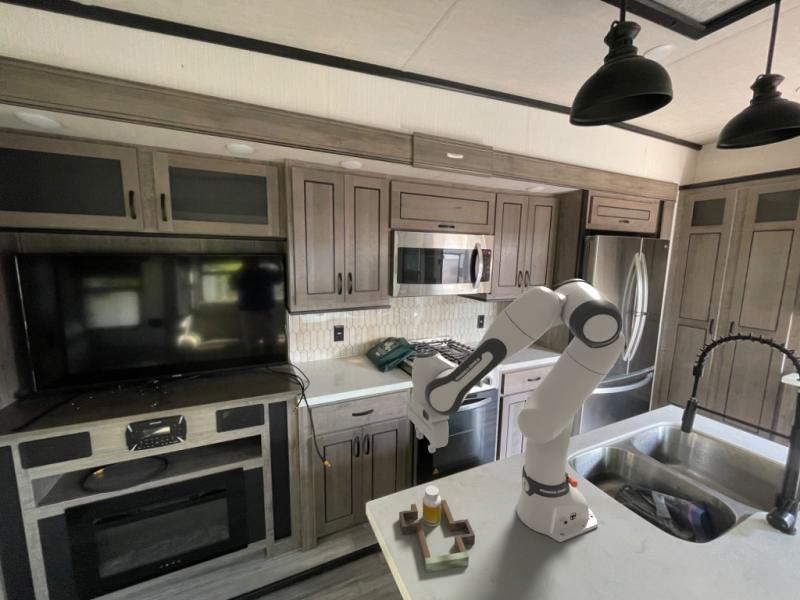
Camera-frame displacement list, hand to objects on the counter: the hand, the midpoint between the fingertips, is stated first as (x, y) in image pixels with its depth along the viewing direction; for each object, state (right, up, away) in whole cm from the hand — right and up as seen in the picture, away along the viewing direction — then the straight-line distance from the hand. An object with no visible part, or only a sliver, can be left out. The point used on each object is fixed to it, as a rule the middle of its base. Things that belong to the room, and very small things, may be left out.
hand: (425, 444), depth 103 cm
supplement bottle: (+1, -21, -5) cm, 21 cm away
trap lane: (+2, -21, -10) cm, 24 cm away
